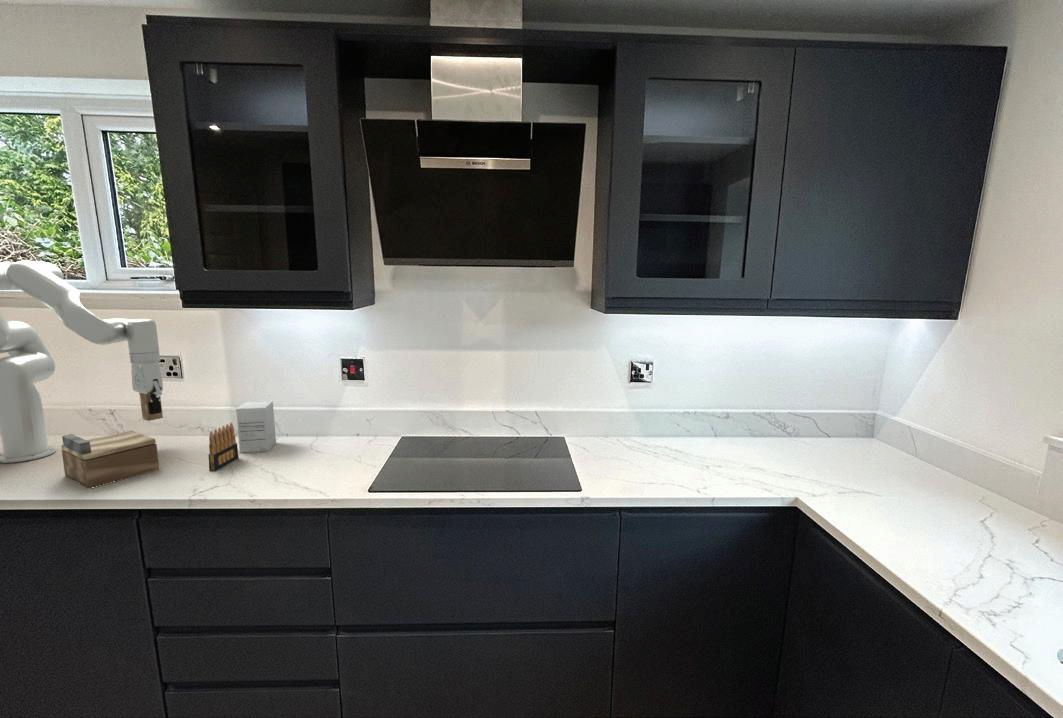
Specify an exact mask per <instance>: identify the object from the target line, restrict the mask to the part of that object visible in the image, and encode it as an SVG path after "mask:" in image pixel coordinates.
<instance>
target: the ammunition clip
mask: <svg viewBox="0 0 1063 718" xmlns="http://www.w3.org/2000/svg"><path fill="white" fill-rule="evenodd" d="M208 437H209V443H208V449H209V451H208V452H209V454H208V468H209V472H217V471H219V470H221V469H224V467H226V466H228V465H230V464H232V463H233V462H235V461H237V460H239V449H238V443H237V442H236V435H235V429H234V425H233V423H232V422H230V423H229V424H228V423H227V424H226V425H225V426H224V425H223V426H222V428H221V427H218V429H214V432H213V431H211V430H210V432H209V436H208Z"/></svg>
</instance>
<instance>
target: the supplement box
mask: <svg viewBox="0 0 1063 718" xmlns="http://www.w3.org/2000/svg"><path fill="white" fill-rule="evenodd" d="M235 411H236V412H235V413H236V422H237V435H238V445H239V453H240V454H241V453H244V454H245V453H257V452H269V451H271V449H272V448H273V446H274V445H276V443H277V438H276V437H277V436H276V425H275V413H274V412H275V411H274V401H273V400H271V401H270V400H269V401H247V402H246V401H245V402H244V403H243V404H241V405H240V406H238V407H237V408H236V409H235Z"/></svg>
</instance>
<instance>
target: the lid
mask: <svg viewBox="0 0 1063 718" xmlns="http://www.w3.org/2000/svg"><path fill="white" fill-rule="evenodd" d="M61 438H62V445H61V446H60V447H61V451H62V450H64V451H66V452H68V453H70V454H73V455H75V456H77V457H79V458H81V459H83V460H87V459H91V458H96V457H100V456H104V455H108V454H112V453H116V452H121V451H125V450H129V449H133V448H137V447H142V446H146V445H150V444H157V441H156V438H154V437H150V436H148V435H144V434H143V433H139V432H136V431H134V430H128V431H123V432H118V433H114V434H109V435H103V436H99V437H94V438H90V439H84V438H82V437H80V436H78V435H75V434H73V433H72V434H66V435H62V437H61Z"/></svg>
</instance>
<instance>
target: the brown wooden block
mask: <svg viewBox="0 0 1063 718" xmlns="http://www.w3.org/2000/svg"><path fill="white" fill-rule="evenodd" d="M151 392H155V391H154V390H152V391H151ZM151 392H150V393H151ZM151 395H152V396H153V395H154V394H151ZM161 398H162V397H161V396H160V399H161ZM139 400H140V408H141V409H140V410H141V415H142V420H143V421H147V422H150V421H155V420H159V419H160V420H161V419H163V418H164V415H163V407H162V405H161V411H162V412H161V413H156V414H149V407H148V402H149V398H148V394H143V393H140V394H139ZM160 403H161V404H162V400H161V401H160Z"/></svg>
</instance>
